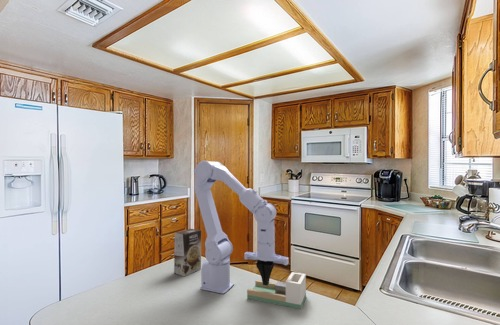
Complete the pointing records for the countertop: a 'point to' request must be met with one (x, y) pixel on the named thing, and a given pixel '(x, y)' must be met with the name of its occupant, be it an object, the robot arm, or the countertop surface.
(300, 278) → the pitch
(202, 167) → the robot arm
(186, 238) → the coffee box
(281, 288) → the block
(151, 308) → the countertop surface
